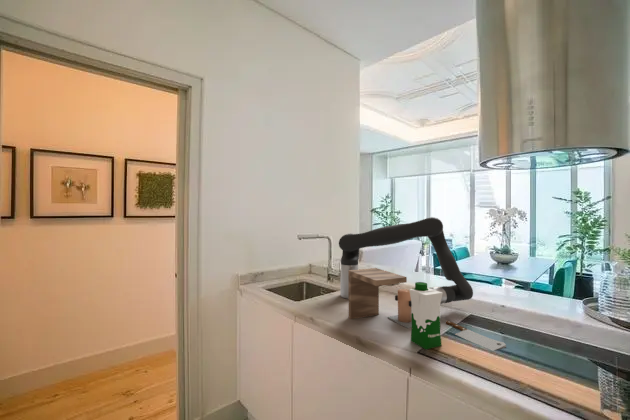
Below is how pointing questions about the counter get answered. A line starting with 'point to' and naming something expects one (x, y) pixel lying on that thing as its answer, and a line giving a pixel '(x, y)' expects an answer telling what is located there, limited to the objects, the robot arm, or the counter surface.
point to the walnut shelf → (368, 290)
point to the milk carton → (425, 316)
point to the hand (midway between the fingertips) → (402, 301)
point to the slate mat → (395, 319)
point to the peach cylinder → (404, 306)
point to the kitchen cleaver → (477, 338)
